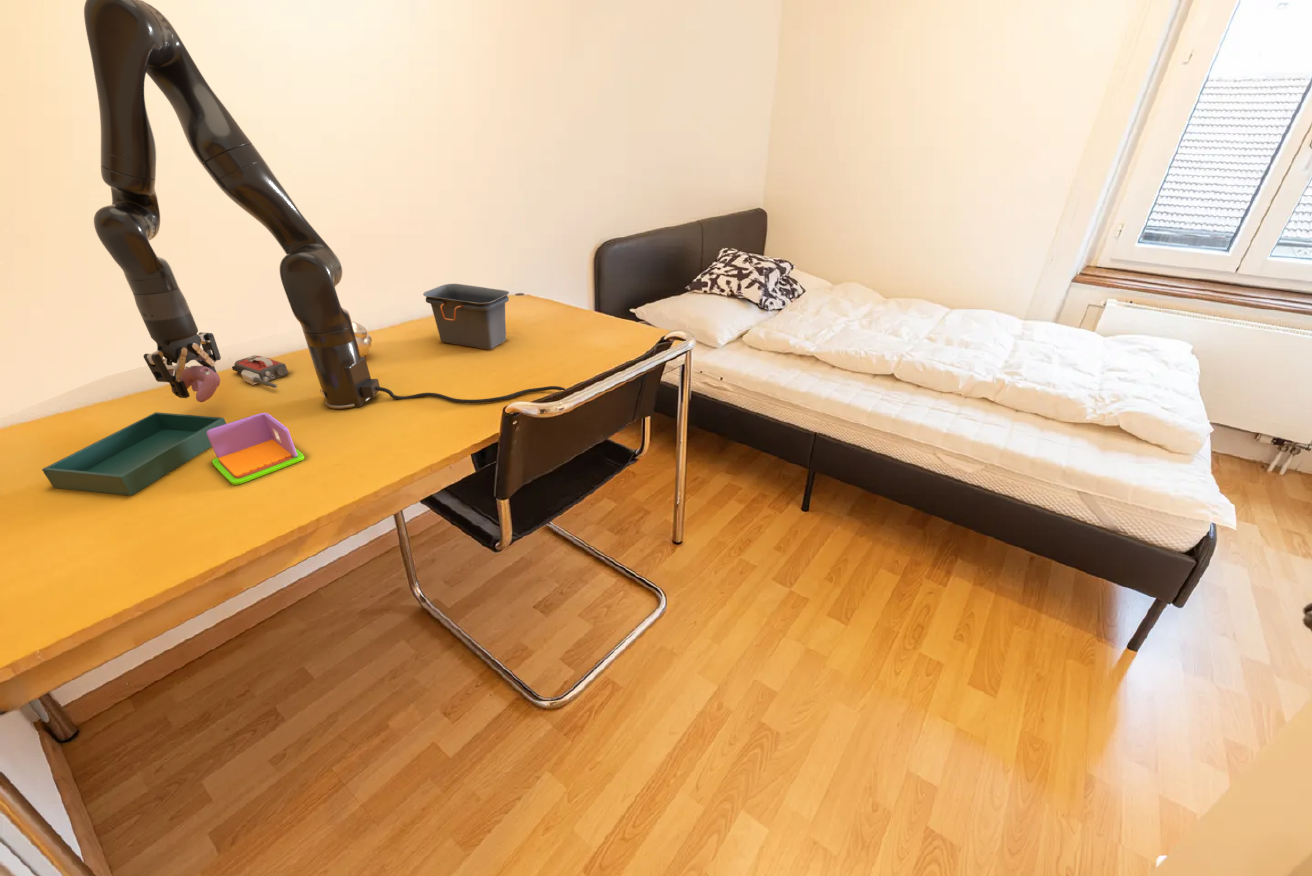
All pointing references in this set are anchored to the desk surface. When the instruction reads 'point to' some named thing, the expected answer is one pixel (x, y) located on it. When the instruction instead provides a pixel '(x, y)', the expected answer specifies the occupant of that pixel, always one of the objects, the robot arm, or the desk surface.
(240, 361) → the walkie-talkie
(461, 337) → the storage bin
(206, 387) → the video game controller
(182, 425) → the tray
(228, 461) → the dollhouse room
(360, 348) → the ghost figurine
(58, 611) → the desk surface
